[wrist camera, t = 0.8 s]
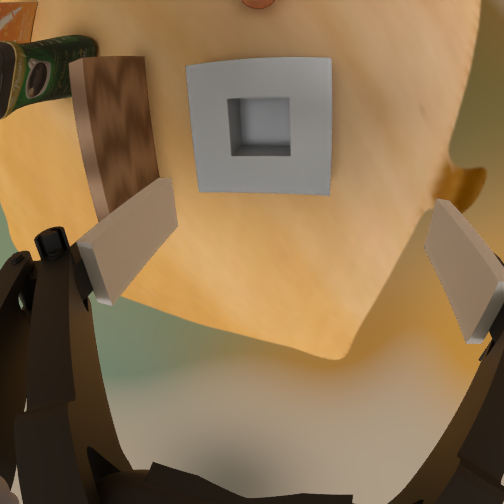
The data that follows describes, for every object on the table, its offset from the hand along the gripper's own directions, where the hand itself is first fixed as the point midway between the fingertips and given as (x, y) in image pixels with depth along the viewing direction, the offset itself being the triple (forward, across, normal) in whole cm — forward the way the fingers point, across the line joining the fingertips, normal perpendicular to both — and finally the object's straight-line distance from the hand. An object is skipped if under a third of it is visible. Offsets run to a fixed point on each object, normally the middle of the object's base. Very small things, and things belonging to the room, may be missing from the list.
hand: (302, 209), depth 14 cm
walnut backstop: (+22, -21, +1) cm, 31 cm away
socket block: (+22, -5, +2) cm, 23 cm away
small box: (+22, -46, +25) cm, 57 cm away
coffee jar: (+22, -33, +13) cm, 42 cm away
